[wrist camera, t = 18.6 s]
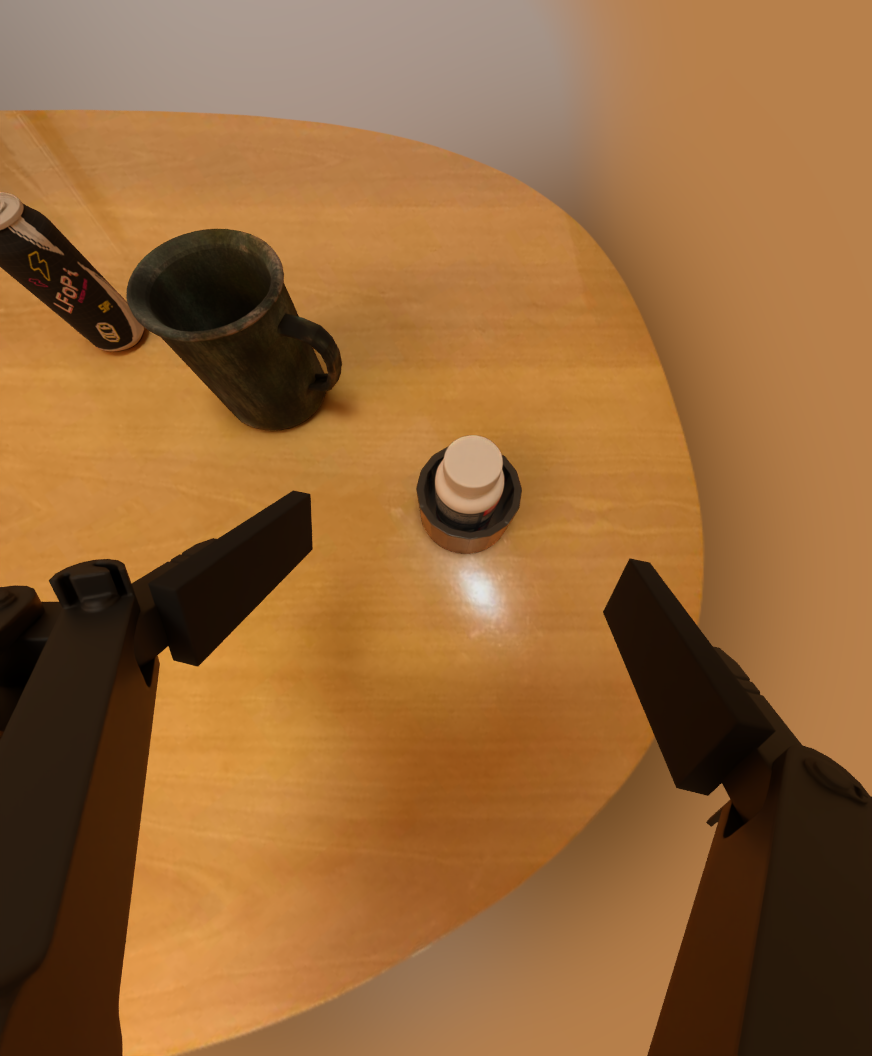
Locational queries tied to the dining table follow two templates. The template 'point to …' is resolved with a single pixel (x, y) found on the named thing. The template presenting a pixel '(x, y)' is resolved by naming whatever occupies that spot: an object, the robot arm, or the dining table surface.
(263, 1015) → the dining table surface
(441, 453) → the dark grey round container
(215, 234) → the mug
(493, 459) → the pill bottle
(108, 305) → the beverage can
